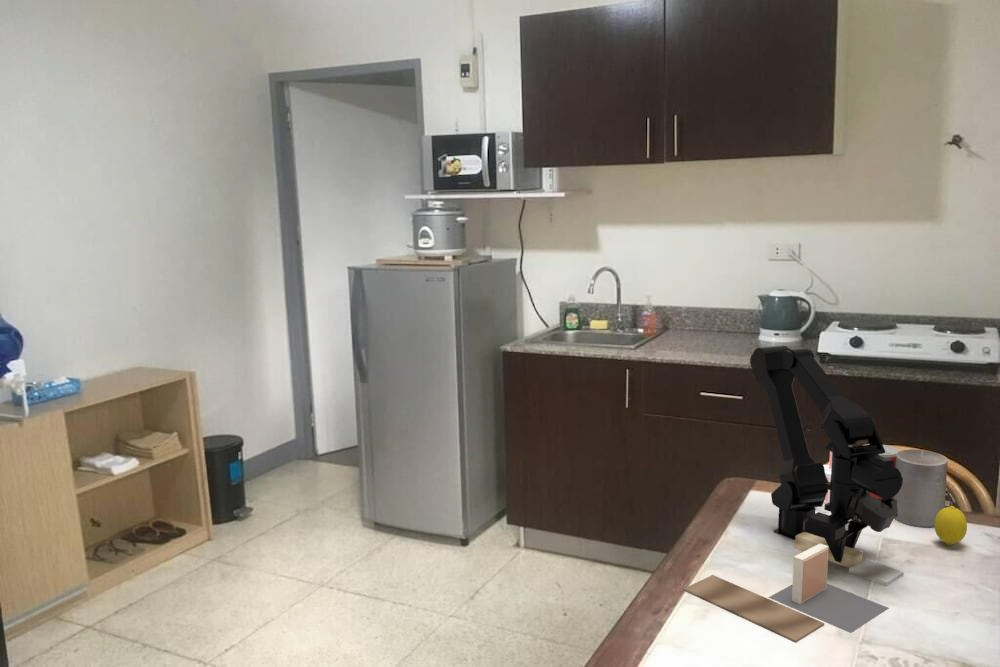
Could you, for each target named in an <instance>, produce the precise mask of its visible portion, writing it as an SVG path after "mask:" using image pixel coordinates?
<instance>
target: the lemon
mask: <svg viewBox="0 0 1000 667" xmlns="http://www.w3.org/2000/svg"><path fill="white" fill-rule="evenodd" d="M967 527H968V523H967V519H966V516H965V515H964V513H963V512H962V511H961V510H960V509H959V508H956V507H955V506H953V505H950V506H947V507H946V506H945V508H944V509H942V510H940V511H939V512H938V514H937V516H936V519H935V527H934V531H935V534H936V535H937V537H938V538H939V539H940V540H941V541H942V542H944V543H946V545H947V546H953V545H954V544H957V543H959V542H961V541H962V540H963V539H964V538H965V537H966V535H967V530H968V528H967Z"/></svg>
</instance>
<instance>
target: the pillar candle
mask: <svg viewBox="0 0 1000 667" xmlns="http://www.w3.org/2000/svg"><path fill="white" fill-rule="evenodd" d="M948 461H949V460H948V458H947V457H946V456H945V455H943V454H941V453H938V452H935V451H931V450H925V449H902V450H900V451H899V452H898V453H897V455H896V468H897V469H898V470H899V471H900V473H901V476H902V478H903V483H902V487H901V489H900V491H899V492H898V493H897V494H896V495H895V496H894V498H895V499H896V500H897V510H898V512H897V513H898V516H897V517H896V518H894V519H895V520H896V521H898V522H899V523H901V524H904V525H907V526H910V527H914V526H915V527H918V528H922V527H923V528H935V519H936V516H937V514H938V512H939V511H940V510H942V509H944V508H946V492H947V479H948V478H947V476H948V475H947V474H948V464H949V462H948Z"/></svg>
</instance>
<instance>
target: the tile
mask: <svg viewBox="0 0 1000 667" xmlns="http://www.w3.org/2000/svg"><path fill="white" fill-rule="evenodd" d="M828 548H829V546H826V545H823V544H821V543H820V544H818V545H816V546H814V547H812V548H810V549H808V550H806V551H802V552H801V553H798V554H796V555H795V556H793V565H792V566H793V567H792V569H793V570H792V571H793V572H792V584H793V586H792V601H794V602H796V603H799V604H801V603H803V602H805V601H807V600H808V599H810V598H812V597H814V596H815V595H817V594H819V593H821V592H822V591H824V590H826V585H827V584H828V582H827V581H828V579H827V578H828V566H829V564H828V563H829V562H828V561H829V560H828Z"/></svg>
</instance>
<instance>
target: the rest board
mask: <svg viewBox="0 0 1000 667" xmlns="http://www.w3.org/2000/svg"><path fill="white" fill-rule="evenodd" d="M683 591H684V592H687V594H691V595H693V596H695V597H697V598H699V599H701V600H702V601H703V600H704V601H705V602H708V603H709V604H711V605H714V606H715V607H719V608H720V609H723V610H725V611H727V612H729V613H732V614H734V615H736V616H737V617H740V618H742V619H744V620H746V621H748V622H751V623H753V624H754V625H757V626H759V627H761V628H764V629H766V630H768V631H770V632H772V633H774V634H776V635H778V636H781V637H783V638H784V639H787V640H789V641H791V642H793V643H798V642H800V641H801V640H803V639H804V638H806V637H807V636H809V635H811V634H813V633H814V632H816V631H817V630H819V629H820V628H823V627H824V626H825V622H824V621H821V620H819V619H817V618H815V617H812V616H810V615H808V614H805V613H803V612H801V611H798V610H796V609H794V608H791V607H789V606H787V605H785V604H782V603H780V602H778V601H775V600H773V599H771V598H767V597H765V596H763V595H760V594H758V593H755V592H754V591H751V590H748V589H746V588H745V587H741V586H739V585H738V584H734V583H733V582H730V581H728V580H725V579H723V578H721V577H718V576H716V575H714V574H711V575H709V576H707V577H705V578H703V579H701V580H698V581H697V582H694V583H692V584H690V585H689V586H687V587H684V588H683Z"/></svg>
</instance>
